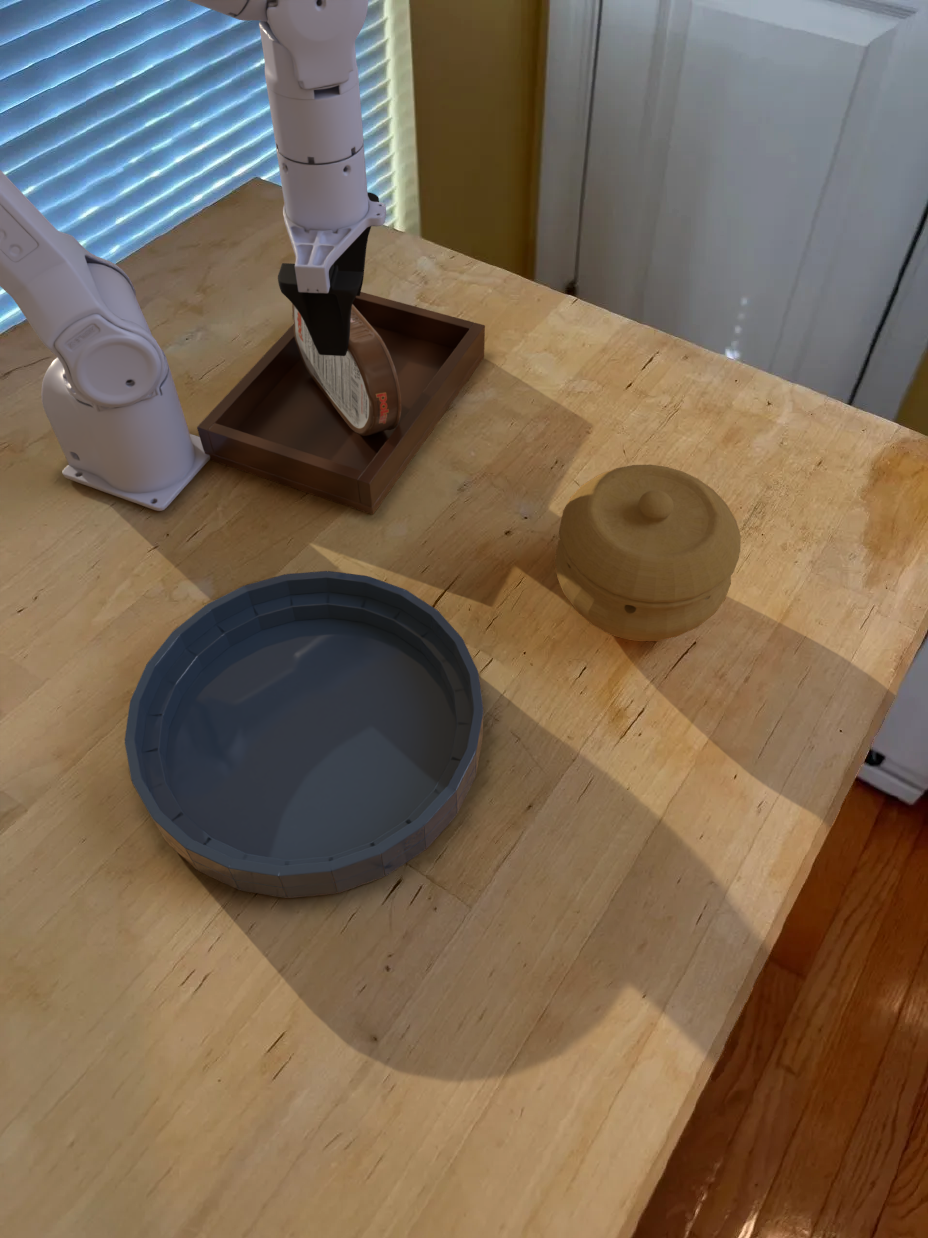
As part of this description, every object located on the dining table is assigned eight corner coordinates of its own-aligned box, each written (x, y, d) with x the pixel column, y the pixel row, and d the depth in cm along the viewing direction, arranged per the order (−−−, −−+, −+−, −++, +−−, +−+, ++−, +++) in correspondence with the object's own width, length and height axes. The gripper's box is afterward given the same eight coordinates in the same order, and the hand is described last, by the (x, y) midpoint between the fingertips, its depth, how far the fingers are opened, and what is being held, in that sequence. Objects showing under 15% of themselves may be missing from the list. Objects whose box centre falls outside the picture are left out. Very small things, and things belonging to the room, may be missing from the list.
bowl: (69, 812, 56) (49, 785, 53) (259, 566, 68) (250, 533, 65) (385, 961, 51) (381, 939, 48) (532, 666, 62) (535, 635, 60)
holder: (205, 458, 75) (196, 426, 72) (335, 315, 86) (330, 283, 84) (373, 515, 71) (369, 483, 68) (484, 357, 82) (485, 324, 80)
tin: (401, 450, 74) (409, 357, 68) (365, 459, 73) (370, 366, 66) (319, 348, 82) (320, 257, 76) (285, 355, 81) (284, 263, 74)
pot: (730, 556, 68) (765, 454, 60) (705, 685, 61) (741, 589, 54) (572, 521, 70) (586, 417, 62) (532, 641, 64) (541, 542, 56)
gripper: (366, 203, 57) (380, 384, 67) (393, 94, 65) (402, 270, 76) (250, 199, 57) (283, 380, 68) (293, 90, 66) (316, 266, 77)
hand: (340, 321), depth 72 cm, fingers open, 7 cm apart
